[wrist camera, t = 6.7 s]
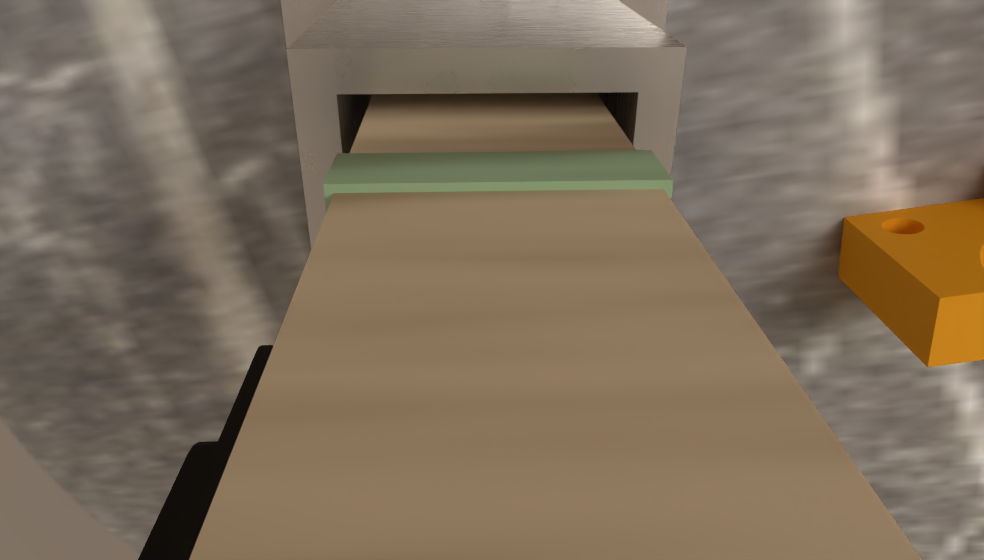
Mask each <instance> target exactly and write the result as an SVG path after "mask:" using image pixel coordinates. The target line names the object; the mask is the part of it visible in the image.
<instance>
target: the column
mask: <svg viewBox="0 0 984 560" xmlns="http://www.w3.org/2000/svg"><path fill="white" fill-rule="evenodd" d="M673 181H674V180H673V178H672V177H671V176H670V174H669V173H668V172H667V170H666V169H665V168H664V166H663V165H662V164H661V162H660V161H659V160H658V158H657V157H656V156H655V154H654V153H653V152H652V150H636V149H635V148H634V146H633V145H632V143H631V142H630V141H629V139H628V138H627V136H626V135H625V133H624V132H623V131H622V129H621V128H620V126H619V125H618V123H617V122H616V121H615V119H614V118H613V116H612V115H611V113H610V112H609V110H608V109H607V108H606V106H605V105H604V103H603V102H602V100H601V99H600V98H599V96H598V95H597V93H463V94H373V95H372V98H371V100H370V103H369V105H368V108H367V110H366V113H365V115H364V118H363V120H362V123H361V125H360V128H359V130H358V133H357V136H356V138H355V141H354V143H353V146H352V148H351V151H350V153H337V154H336V156H335V158H334V161H333V163H332V165H331V167H330V170H329V172H328V174H327V176H326V179H325V181H324V183H323V188H324V197H325V206H326V214H325V217H324V219H323V222H322V224H321V227H320V229H319V232H318V234H317V237H316V239H315V242H314V244H313V247H312V250H311V252H310V255H309V257H308V260H307V262H306V265H305V267H304V270H303V272H302V275H301V277H300V280H299V282H298V285H297V288H296V290H295V293H294V295H293V298H292V300H291V303H290V305H289V308H288V310H287V313H286V315H285V318H284V320H283V323H282V326H281V328H280V331H279V333H278V336H277V338H276V341H275V343H274V346H273V348H272V351H271V353H270V356H269V359H268V361H267V364H266V366H265V369H264V371H263V374H262V376H261V379H260V381H259V384H258V386H257V389H256V391H255V394H254V397H253V399H252V402H251V404H250V407H249V409H248V412H247V414H246V417H245V419H244V422H243V424H242V427H241V429H240V432H239V435H238V437H237V440H236V442H235V445H234V447H233V450H232V452H231V455H230V457H229V460H228V462H227V465H226V467H225V470H224V473H223V475H222V478H221V480H220V483H219V485H218V488H217V490H216V493H215V495H214V498H213V500H212V503H211V505H210V508H209V511H208V513H207V516H206V518H205V521H204V523H203V526H202V528H201V531H200V533H199V536H198V538H197V541H196V543H195V546H194V549H193V551H192V554H191V556H190V559H189V560H922V559H921V557H920V556H919V554H918V553H917V552H916V550H915V549H914V547H913V546H912V544H911V543H910V542H909V540H908V539H907V537H906V536H905V534H904V533H903V532H902V530H901V529H900V527H899V526H898V524H897V523H896V522H895V520H894V519H893V517H892V516H891V514H890V513H889V512H888V510H887V509H886V507H885V506H884V504H883V503H882V502H881V500H880V499H879V497H878V496H877V494H876V493H875V491H874V490H873V489H872V487H871V486H870V484H869V483H868V481H867V480H866V479H865V477H864V476H863V474H862V473H861V471H860V470H859V469H858V467H857V466H856V464H855V463H854V461H853V460H852V459H851V457H850V456H849V454H848V453H847V451H846V450H845V449H844V447H843V446H842V444H841V443H840V441H839V440H838V438H837V437H836V436H835V434H834V433H833V431H832V430H831V428H830V427H829V426H828V424H827V423H826V421H825V420H824V418H823V417H822V416H821V414H820V413H819V411H818V410H817V408H816V407H815V406H814V404H813V403H812V401H811V400H810V398H809V397H808V396H807V394H806V393H805V391H804V390H803V388H802V387H801V385H800V384H799V383H798V381H797V380H796V378H795V377H794V375H793V374H792V373H791V371H790V370H789V368H788V367H787V365H786V364H785V363H784V361H783V360H782V358H781V357H780V355H779V354H778V353H777V351H776V350H775V348H774V347H773V345H772V344H771V343H770V341H769V340H768V338H767V337H766V335H765V334H764V332H763V331H762V330H761V328H760V327H759V325H758V324H757V322H756V321H755V320H754V318H753V317H752V315H751V314H750V312H749V311H748V310H747V308H746V307H745V305H744V304H743V302H742V301H741V300H740V298H739V297H738V295H737V294H736V292H735V291H734V290H733V288H732V287H731V285H730V284H729V282H728V281H727V279H726V278H725V277H724V275H723V274H722V272H721V271H720V269H719V268H718V267H717V265H716V264H715V262H714V261H713V259H712V258H711V257H710V255H709V254H708V252H707V251H706V249H705V248H704V247H703V245H702V244H701V242H700V241H699V239H698V238H697V237H696V235H695V234H694V232H693V231H692V229H691V228H690V226H689V225H688V224H687V222H686V221H685V219H684V218H683V216H682V215H681V214H680V212H679V211H678V209H677V208H676V206H675V205H674V204H673V202H672V201H671V197H672V189H673Z"/></svg>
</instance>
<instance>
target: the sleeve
mask: <svg viewBox="0 0 984 560" xmlns="http://www.w3.org/2000/svg"><path fill="white" fill-rule="evenodd" d="M280 1H281V9H282V17H283V25H284V33H285V41H286V52H287V60H288V68H289V76H290V84H291V92H292V100H293V108H294V116H295V124H296V132H297V140H298V148H299V156H300V164H301V172H302V180H303V188H304V196H305V204H306V212H307V220H308V228H309V236H310V244H311V250H312V247H313V244H314V242H315V239H316V237H317V234H318V232H319V229H320V227H321V224H322V222H323V219H324V217H325V214H326V206H325V197H324V188H323V183H324V181H325V179H326V176H327V174H328V172H329V170H330V167H331V165H332V163H333V161H334V158H335V156H336V154H337V153H350V151H351V148H352V146H353V143H354V141H355V138H356V136H357V133H358V130H359V128H360V125H361V123H362V120H363V118H364V115H365V113H366V110H367V108H368V105H369V103H370V100H371V98H372V95H373V94H463V93H597V95H598V96H599V98H600V99H601V100H602V102H603V103H604V105H605V106H606V108H607V109H608V110H609V112H610V113H611V115H612V116H613V118H614V119H615V121H616V122H617V123H618V125H619V126H620V128H621V129H622V131H623V132H624V133H625V135H626V136H627V138H628V139H629V141H630V142H631V143H632V145H633V146H634V148H635V149H636V150H652V152H653V153H654V154H655V156H656V157H657V158H658V160H659V161H660V162H661V164H662V165H663V166H664V168H665V169H666V170H667V172H668V173H669V174H670V176H671V171H672V163H673V155H674V147H675V139H676V131H677V123H678V115H679V107H680V100H681V92H682V84H683V76H684V68H685V60H686V52H687V47H686V46H685V45H683V44H682V43H680V42H679V41H677V40H676V39H674V38H673V37H671V36H670V35H668V34H667V33H665V26H666V17H667V8H668V0H280Z"/></svg>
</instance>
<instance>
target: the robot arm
mask: <svg viewBox="0 0 984 560" xmlns="http://www.w3.org/2000/svg"><path fill="white" fill-rule="evenodd" d="M273 346H274V345H262V346H259V348H258V349H257V351H256V354H255V356H254V358H253V361H252V363H251V365H250V368H249V370H248V372H247V375H246V377H245V379H244V382H243V384H242V386H241V389H240V391H239V394H238V396H237V398H236V401H235V403H234V405H233V408H232V410H231V412H230V415H229V417H228V419H227V422H226V424H225V426H224V429H223V431H222V433H221V436H220V438H219V440H218V441H215V442H198V443H196V444H195V445H193V447H192V448H191V450H190V451H189V453H188V455H187V457H186V459H185V461H184V463H183V465H182V467H181V469H180V472H179V474H178V476H177V478H176V480H175V482H174V484H173V486H172V489H171V491H170V493H169V495H168V497H167V499H166V501H165V503H164V506H163V508H162V510H161V512H160V514H159V516H158V518H157V521H156V523H155V525H154V527H153V529H152V531H151V533H150V535H149V538H148V540H147V542H146V544H145V546H144V548H143V550H142V552H141V555H140V557H139V559H138V560H189V559H190V556H191V554H192V551H193V549H194V546H195V543H196V541H197V538H198V536H199V533H200V531H201V528H202V526H203V523H204V521H205V518H206V516H207V513H208V511H209V508H210V505H211V503H212V500H213V498H214V495H215V493H216V490H217V488H218V485H219V483H220V480H221V478H222V475H223V473H224V470H225V467H226V465H227V462H228V460H229V457H230V455H231V452H232V450H233V447H234V445H235V442H236V440H237V437H238V435H239V432H240V429H241V427H242V424H243V422H244V419H245V417H246V414H247V412H248V409H249V407H250V404H251V402H252V399H253V397H254V394H255V391H256V389H257V386H258V384H259V381H260V379H261V376H262V374H263V371H264V369H265V366H266V364H267V361H268V359H269V356H270V353H271V351H272V348H273Z"/></svg>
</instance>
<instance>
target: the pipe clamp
mask: <svg viewBox="0 0 984 560" xmlns="http://www.w3.org/2000/svg"><path fill="white" fill-rule="evenodd" d="M838 277H839V278H840V279H841V280H842V281H843V282H844V283H845V284H846V285H847V286H848V287H849V288H850V289H851V290H852V291H853V292H854V293H855V294H856V295H857V296H858V297H859V298H860V299H861V300H862V301H863V302H864V303H865V304H866V305H867V306H868V307H869V308H870V309H871V310H872V311H873V312H874V313H875V314H876V316H877V317H878V318H879V319H880V320H881V321H882V322H883V323H884V324H885V325H886V326H887V327H888V328H889V329H890V330H891V331H892V332H893V333H894V334H895V335H896V336H897V337H898V338H899V339H900V340H901V341H902V342H903V343H904V344H905V345H906V346H907V347H908V348H909V349H910V350H911V351H912V352H913V353H914V354H915V355H916V356H917V357H918V358H919V359H920V360H921V361H922V362H923V363H924V364H925V365H926V366H927V367H932V366H940V365H947V364H955V363H962V362H970V361H977V360H984V198H980V199H973V200H965V201H958V202H951V203H944V204H937V205H930V206H922V207H915V208H908V209H901V210H894V211H887V212H879V213H872V214H865V215H858V216H851V217H844V224H843V234H842V243H841V253H840V262H839V272H838Z"/></svg>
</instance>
